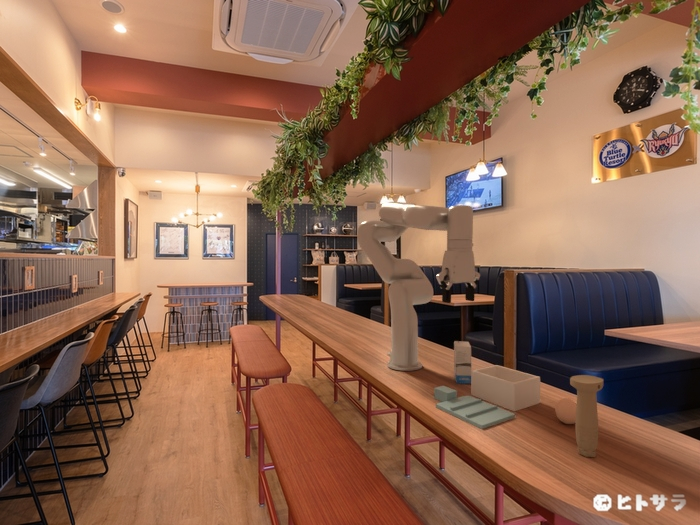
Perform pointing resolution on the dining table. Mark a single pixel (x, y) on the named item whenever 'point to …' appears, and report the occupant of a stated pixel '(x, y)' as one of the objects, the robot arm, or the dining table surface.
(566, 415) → the egg
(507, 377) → the tub
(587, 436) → the handle
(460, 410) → the lid
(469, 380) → the ink box
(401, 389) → the dining table surface
